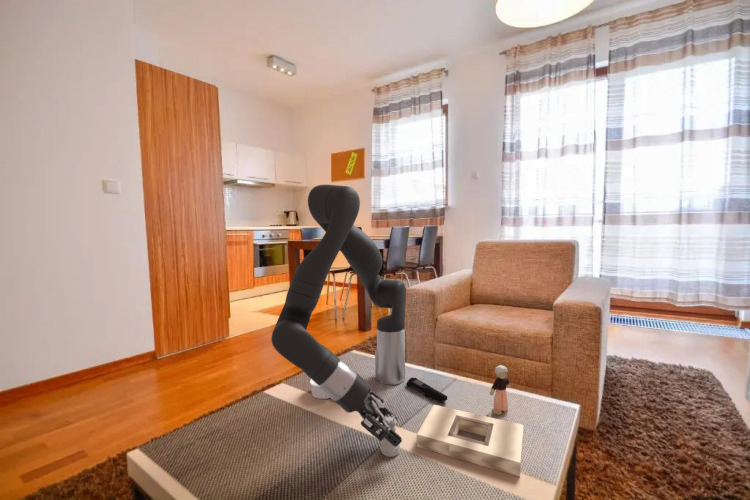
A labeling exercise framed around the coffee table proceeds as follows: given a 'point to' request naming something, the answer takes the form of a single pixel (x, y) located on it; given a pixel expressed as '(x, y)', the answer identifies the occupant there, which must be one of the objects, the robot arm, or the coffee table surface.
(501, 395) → the grandmother figurine
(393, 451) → the rook chess piece
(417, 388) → the electric trimmer
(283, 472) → the coffee table surface
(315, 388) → the ramekin
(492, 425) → the socket board
